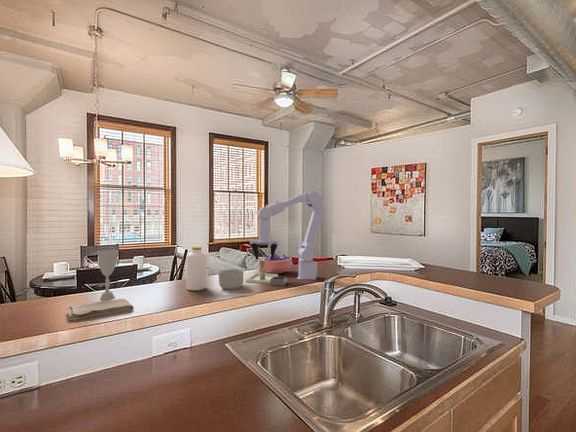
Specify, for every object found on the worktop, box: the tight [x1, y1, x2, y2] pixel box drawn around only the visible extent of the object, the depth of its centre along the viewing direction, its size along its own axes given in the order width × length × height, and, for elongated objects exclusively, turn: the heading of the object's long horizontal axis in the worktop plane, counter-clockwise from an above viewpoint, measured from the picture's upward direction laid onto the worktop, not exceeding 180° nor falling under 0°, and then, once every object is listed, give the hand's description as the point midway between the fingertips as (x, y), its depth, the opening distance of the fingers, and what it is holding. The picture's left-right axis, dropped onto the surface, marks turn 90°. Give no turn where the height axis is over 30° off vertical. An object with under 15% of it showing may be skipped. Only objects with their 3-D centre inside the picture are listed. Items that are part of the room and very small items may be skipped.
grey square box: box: [269, 276, 288, 287], centre depth 142 cm, size 6×6×3 cm
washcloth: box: [66, 298, 134, 322], centre depth 103 cm, size 12×18×3 cm, turn 129°
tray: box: [244, 272, 279, 284], centre depth 152 cm, size 12×16×2 cm
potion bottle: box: [186, 246, 208, 292], centre depth 134 cm, size 8×8×18 cm
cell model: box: [259, 253, 293, 275], centre depth 170 cm, size 17×20×11 cm
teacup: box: [217, 268, 244, 291], centre depth 136 cm, size 14×11×8 cm
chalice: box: [96, 249, 119, 301], centre depth 119 cm, size 7×7×18 cm
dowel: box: [258, 260, 266, 280], centre depth 152 cm, size 3×3×9 cm
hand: (264, 259), depth 152 cm, fingers open, 7 cm apart
